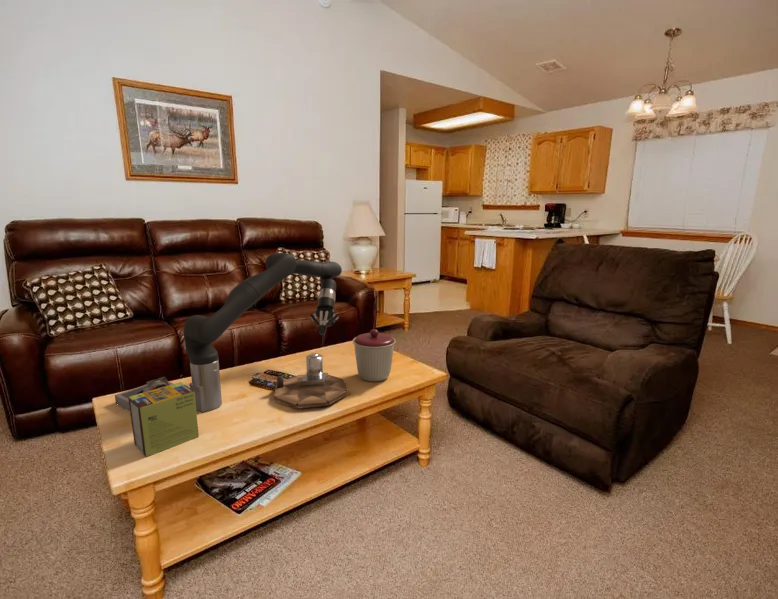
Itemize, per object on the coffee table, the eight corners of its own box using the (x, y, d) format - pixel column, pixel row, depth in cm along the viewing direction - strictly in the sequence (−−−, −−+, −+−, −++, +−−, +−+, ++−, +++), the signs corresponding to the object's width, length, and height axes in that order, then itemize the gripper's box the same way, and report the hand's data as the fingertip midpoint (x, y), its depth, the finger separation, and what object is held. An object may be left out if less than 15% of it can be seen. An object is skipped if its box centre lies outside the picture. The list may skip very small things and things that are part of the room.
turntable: (313, 414, 142) (312, 399, 141) (259, 395, 156) (258, 381, 155) (360, 386, 164) (360, 374, 163) (309, 372, 178) (309, 360, 177)
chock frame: (138, 415, 142) (137, 406, 142) (116, 404, 150) (114, 395, 150) (186, 396, 157) (185, 388, 156) (163, 387, 165) (162, 379, 164)
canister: (366, 389, 165) (366, 338, 160) (345, 374, 180) (344, 327, 175) (403, 379, 174) (404, 331, 170) (381, 366, 189) (381, 321, 185)
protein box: (199, 436, 130) (195, 390, 126) (145, 457, 118) (139, 407, 115) (185, 425, 136) (181, 381, 133) (133, 444, 125) (127, 396, 122)
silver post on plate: (323, 385, 162) (323, 358, 160) (301, 384, 163) (300, 358, 160) (328, 376, 171) (327, 350, 169) (306, 375, 171) (305, 350, 169)
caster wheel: (135, 415, 148) (139, 399, 156) (169, 404, 151) (171, 389, 160) (127, 400, 145) (132, 385, 154) (162, 389, 148) (165, 375, 157)
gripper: (310, 295, 186) (305, 329, 176) (340, 296, 185) (336, 330, 176) (313, 304, 192) (308, 338, 183) (342, 305, 191) (338, 338, 182)
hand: (322, 334), depth 179 cm, fingers closed
